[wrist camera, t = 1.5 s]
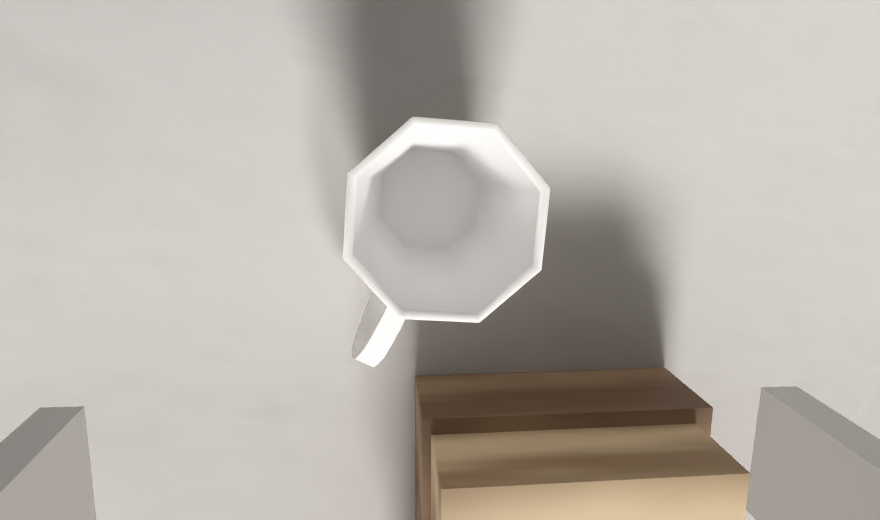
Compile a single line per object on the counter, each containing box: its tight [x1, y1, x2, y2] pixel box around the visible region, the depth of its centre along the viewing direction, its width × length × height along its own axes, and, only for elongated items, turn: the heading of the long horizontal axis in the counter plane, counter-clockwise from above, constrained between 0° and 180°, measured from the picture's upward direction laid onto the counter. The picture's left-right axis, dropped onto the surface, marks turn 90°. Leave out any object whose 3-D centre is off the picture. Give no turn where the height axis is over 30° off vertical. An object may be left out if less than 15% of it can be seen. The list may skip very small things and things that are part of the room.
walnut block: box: [415, 368, 713, 520], centre depth 30 cm, size 12×12×5 cm
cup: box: [343, 116, 550, 367], centre depth 25 cm, size 7×10×8 cm
